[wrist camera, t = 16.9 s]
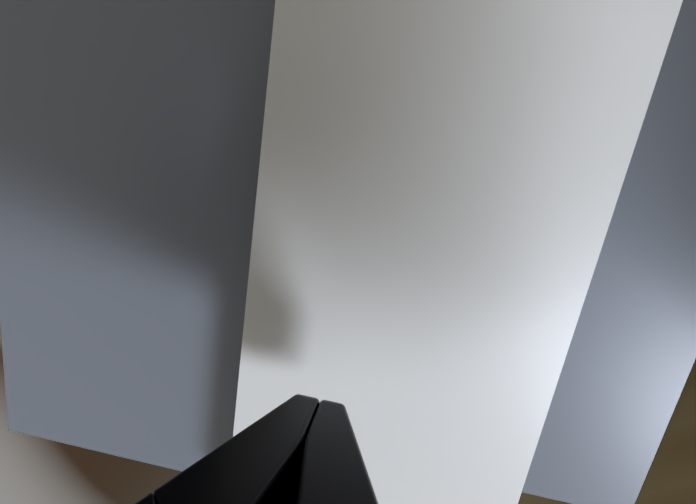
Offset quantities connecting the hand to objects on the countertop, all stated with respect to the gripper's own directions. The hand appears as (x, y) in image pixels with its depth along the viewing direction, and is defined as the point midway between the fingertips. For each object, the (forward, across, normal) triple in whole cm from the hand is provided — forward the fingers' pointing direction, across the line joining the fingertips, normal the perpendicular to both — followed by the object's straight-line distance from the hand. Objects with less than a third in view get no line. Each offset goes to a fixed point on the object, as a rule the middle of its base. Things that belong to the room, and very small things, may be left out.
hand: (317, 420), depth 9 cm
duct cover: (+2, -1, -8) cm, 8 cm away
